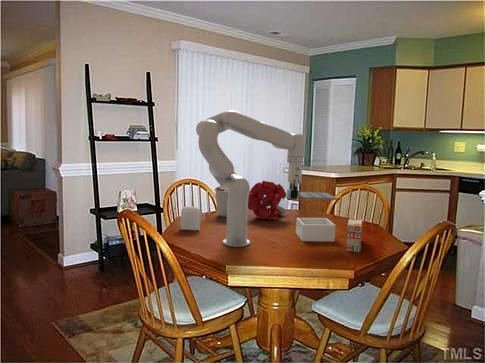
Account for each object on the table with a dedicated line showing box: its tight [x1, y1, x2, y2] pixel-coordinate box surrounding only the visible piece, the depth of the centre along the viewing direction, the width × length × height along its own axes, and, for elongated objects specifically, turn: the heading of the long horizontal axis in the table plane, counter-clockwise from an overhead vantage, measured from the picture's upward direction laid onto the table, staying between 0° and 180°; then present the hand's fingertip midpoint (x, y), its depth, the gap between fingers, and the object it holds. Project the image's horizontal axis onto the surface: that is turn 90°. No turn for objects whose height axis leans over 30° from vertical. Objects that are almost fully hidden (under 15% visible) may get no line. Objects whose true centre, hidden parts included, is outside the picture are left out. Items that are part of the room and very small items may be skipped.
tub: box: [295, 217, 337, 242], centre depth 205 cm, size 16×16×8 cm
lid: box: [286, 189, 338, 201], centre depth 197 cm, size 22×16×3 cm
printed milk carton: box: [345, 218, 363, 253], centre depth 191 cm, size 21×6×12 cm, turn 162°
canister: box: [214, 185, 229, 218], centre depth 250 cm, size 18×18×21 cm
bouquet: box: [248, 180, 287, 220], centre depth 247 cm, size 22×24×30 cm
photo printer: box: [180, 205, 201, 232], centre depth 214 cm, size 10×4×12 cm, turn 84°
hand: (293, 197), depth 197 cm, fingers closed on lid, 3 cm apart
